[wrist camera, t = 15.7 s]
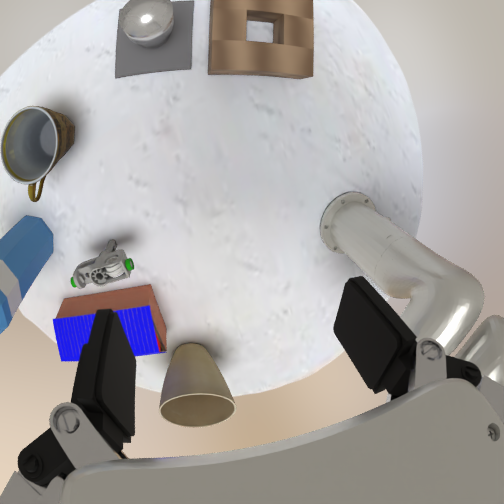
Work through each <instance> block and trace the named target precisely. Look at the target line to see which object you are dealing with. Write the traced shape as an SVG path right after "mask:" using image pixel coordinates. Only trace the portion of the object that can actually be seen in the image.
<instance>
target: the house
mask: <svg viewBox="0 0 504 504" xmlns="http://www.w3.org/2000/svg"><path fill="white" fill-rule="evenodd" d="M98 309H112V310H113V312H117V314H118V316H119V319H120V321H121V324H122V327H123V329H124V332H125V334H126V337H127V339H128V342H129V344H130V346H131V349H132V351H133V353H134V356H143V355H151V354H158V353H165V351H167V347H166V326H165V323H164V321H163V318H162V315H161V313H160V310H159V307H158V304H157V301H156V299H155V296H154V293H153V290H152V287H151V284H150V285H144V286H138V287H132V288H126V289H120V290H114V291H108V292H102V293H96V294H90V295H84V296H78V297H72V298H65V299H64V300H63V302H62V305H61V307H60V309H59V312H58V314H57V316H56V319H53V324H54V329H55V335H56V340H57V345H58V349H59V354H60V357H61V361H79V358H80V354H81V350H82V347H83V345H84V344H85V343H88V340H89V336H90V332H91V329H92V325H93V321H94V318H95V314H96V311H97V310H98Z"/></svg>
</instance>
